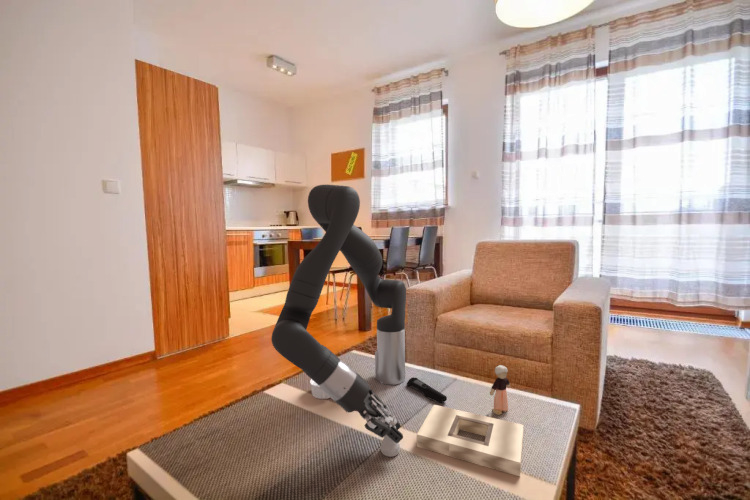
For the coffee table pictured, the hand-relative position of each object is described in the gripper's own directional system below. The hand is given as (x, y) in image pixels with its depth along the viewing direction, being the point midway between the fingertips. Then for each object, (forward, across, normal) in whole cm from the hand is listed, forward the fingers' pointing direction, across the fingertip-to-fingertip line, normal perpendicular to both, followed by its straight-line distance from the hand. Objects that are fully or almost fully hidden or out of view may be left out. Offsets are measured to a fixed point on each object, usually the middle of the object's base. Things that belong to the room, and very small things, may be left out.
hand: (398, 433), depth 76 cm
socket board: (+15, +2, -9) cm, 18 cm away
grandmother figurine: (+24, +14, -18) cm, 33 cm away
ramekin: (-10, +28, +17) cm, 35 cm away
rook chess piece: (+2, 0, +4) cm, 5 cm away
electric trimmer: (+12, +25, -5) cm, 28 cm away
